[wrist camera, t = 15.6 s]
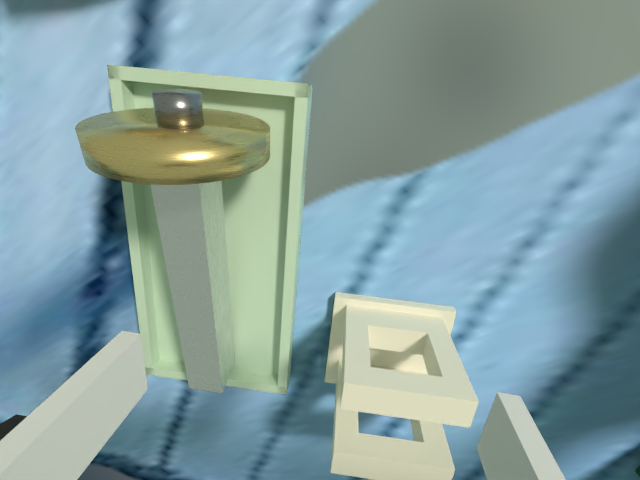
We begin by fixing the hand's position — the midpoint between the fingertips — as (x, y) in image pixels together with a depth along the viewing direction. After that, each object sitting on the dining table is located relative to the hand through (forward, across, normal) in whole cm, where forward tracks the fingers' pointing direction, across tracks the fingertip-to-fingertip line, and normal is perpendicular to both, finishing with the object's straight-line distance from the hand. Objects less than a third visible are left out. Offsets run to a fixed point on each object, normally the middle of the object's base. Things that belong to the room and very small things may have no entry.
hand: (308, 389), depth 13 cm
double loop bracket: (+21, +6, -13) cm, 26 cm away
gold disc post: (+21, -12, -3) cm, 24 cm away
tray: (+20, -12, -4) cm, 24 cm away
